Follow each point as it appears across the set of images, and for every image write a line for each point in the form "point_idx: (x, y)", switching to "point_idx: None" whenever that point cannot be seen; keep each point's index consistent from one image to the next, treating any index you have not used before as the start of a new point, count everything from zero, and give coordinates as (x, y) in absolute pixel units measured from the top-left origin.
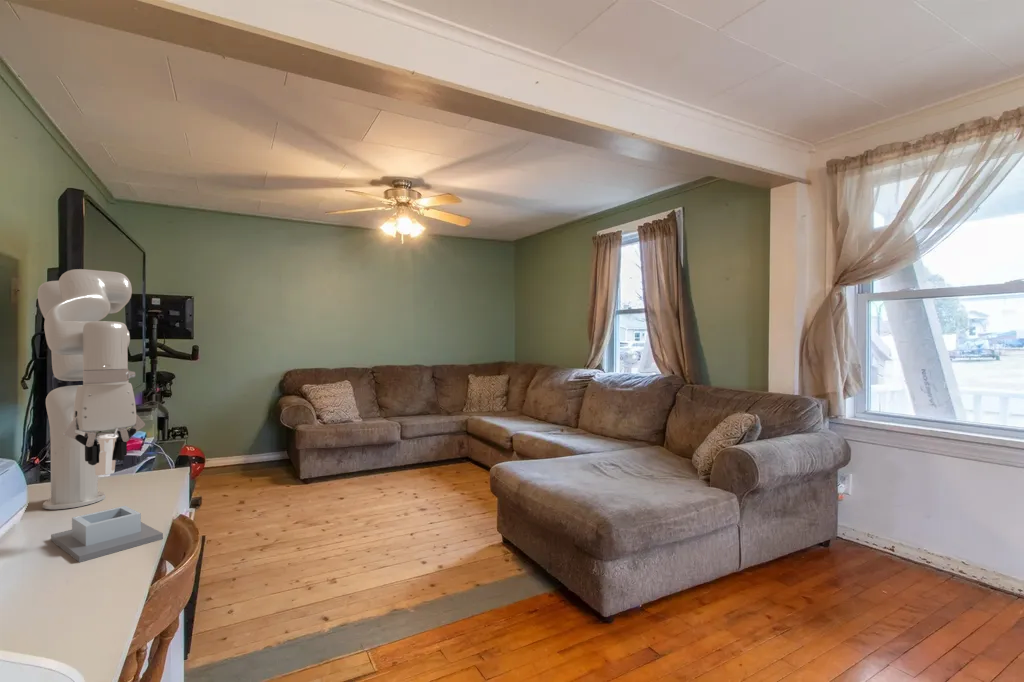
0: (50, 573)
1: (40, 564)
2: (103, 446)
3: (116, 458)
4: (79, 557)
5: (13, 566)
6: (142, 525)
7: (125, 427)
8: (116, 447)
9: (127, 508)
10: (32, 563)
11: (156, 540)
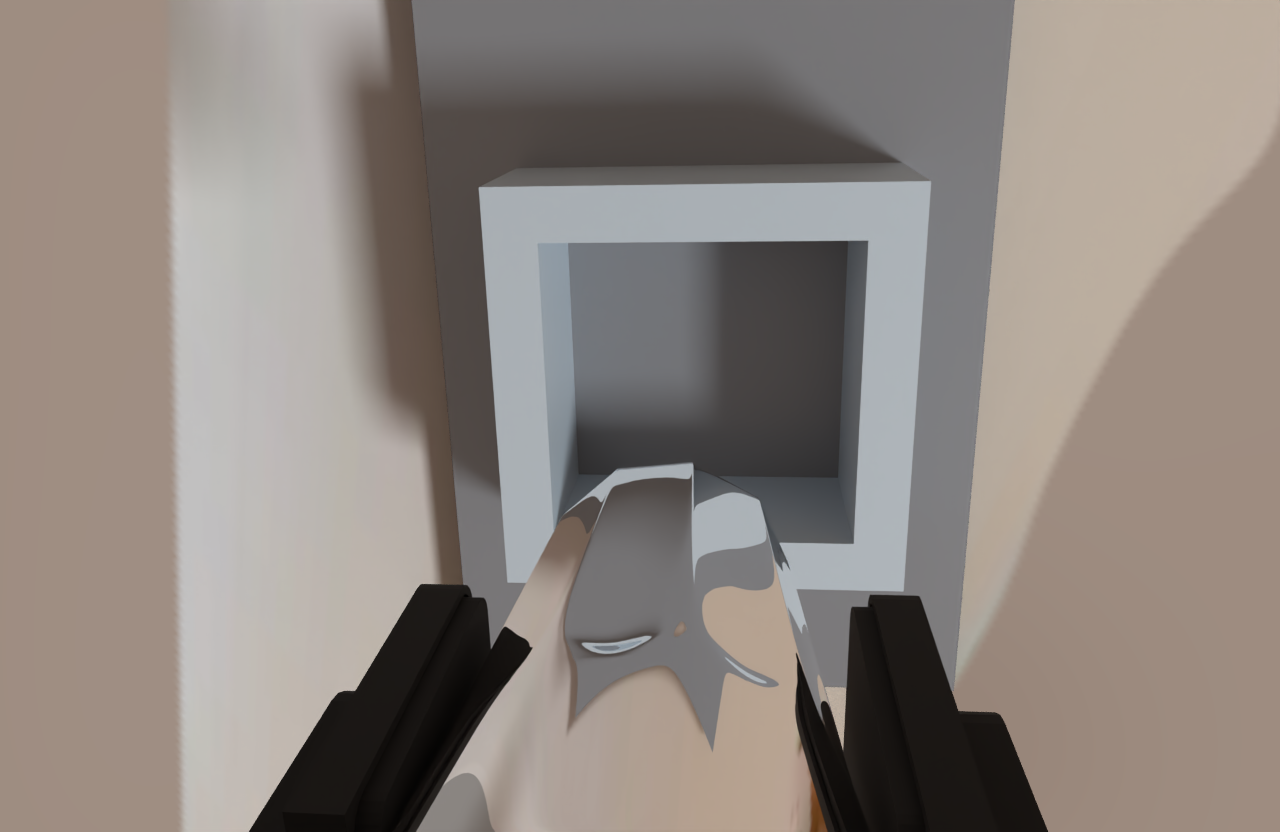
0: (345, 688)
1: (317, 489)
2: None
3: (848, 657)
4: None
5: (197, 384)
6: (954, 373)
7: None
8: None
9: (900, 321)
10: (284, 427)
11: None
